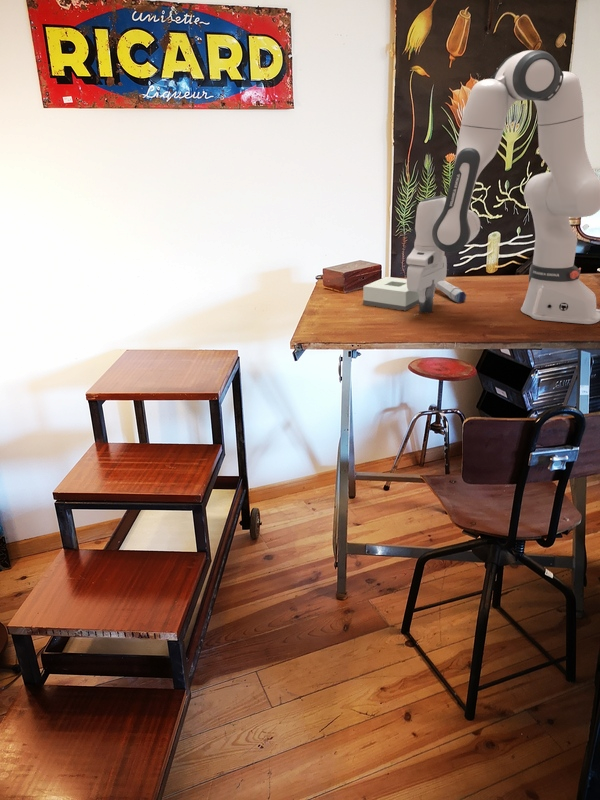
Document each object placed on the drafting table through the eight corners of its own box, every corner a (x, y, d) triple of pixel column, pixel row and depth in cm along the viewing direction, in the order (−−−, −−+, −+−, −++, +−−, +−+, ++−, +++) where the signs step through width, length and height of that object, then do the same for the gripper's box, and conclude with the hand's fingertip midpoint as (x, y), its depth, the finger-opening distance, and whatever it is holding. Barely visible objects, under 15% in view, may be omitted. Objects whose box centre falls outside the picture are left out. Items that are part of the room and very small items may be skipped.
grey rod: (454, 292, 189) (418, 266, 209) (451, 311, 193) (416, 284, 213) (469, 290, 191) (431, 264, 211) (466, 310, 194) (429, 282, 214)
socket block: (426, 299, 196) (427, 281, 193) (405, 311, 185) (405, 292, 182) (385, 294, 204) (386, 276, 202) (363, 304, 193) (363, 286, 191)
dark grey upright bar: (434, 310, 184) (436, 278, 180) (428, 313, 182) (430, 281, 177) (422, 308, 187) (424, 276, 182) (416, 312, 184) (418, 279, 180)
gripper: (434, 247, 186) (431, 291, 192) (403, 259, 171) (401, 306, 177) (453, 248, 183) (450, 293, 188) (423, 261, 168) (421, 309, 174)
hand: (426, 299), depth 183 cm, fingers closed on dark grey upright bar, 4 cm apart
